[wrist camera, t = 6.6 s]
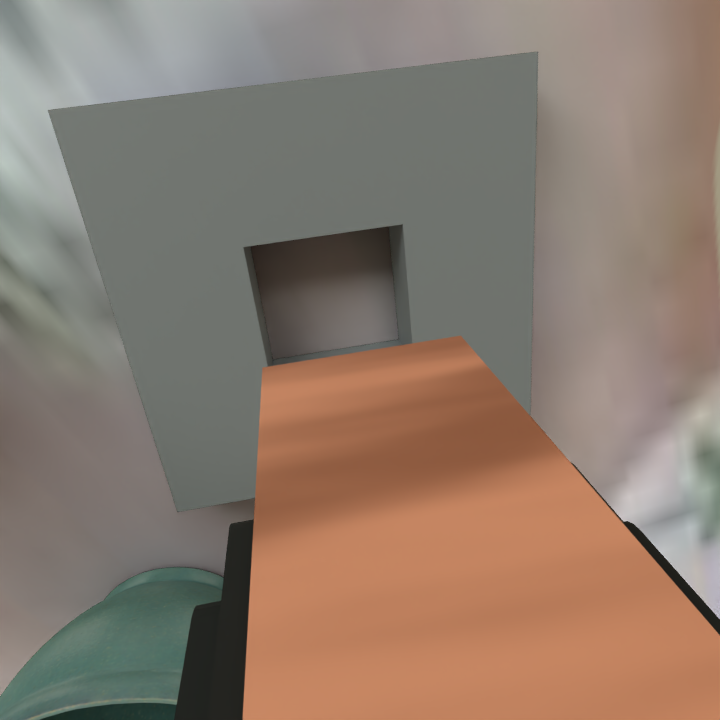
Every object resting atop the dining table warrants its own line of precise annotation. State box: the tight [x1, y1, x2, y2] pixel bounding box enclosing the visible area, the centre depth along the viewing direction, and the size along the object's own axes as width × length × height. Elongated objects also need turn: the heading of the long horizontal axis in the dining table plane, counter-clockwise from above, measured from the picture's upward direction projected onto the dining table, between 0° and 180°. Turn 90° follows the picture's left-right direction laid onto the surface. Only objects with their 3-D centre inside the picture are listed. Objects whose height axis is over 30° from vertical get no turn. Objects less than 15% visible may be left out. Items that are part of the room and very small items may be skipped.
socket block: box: [48, 52, 538, 512], centre depth 25 cm, size 18×18×4 cm
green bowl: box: [0, 567, 224, 720], centre depth 29 cm, size 16×16×11 cm
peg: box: [243, 336, 720, 720], centre depth 9 cm, size 5×5×12 cm
